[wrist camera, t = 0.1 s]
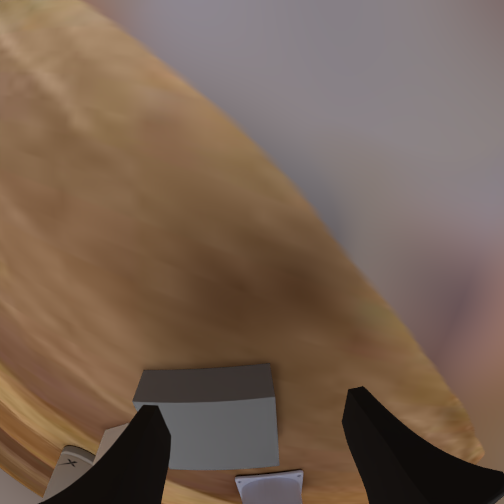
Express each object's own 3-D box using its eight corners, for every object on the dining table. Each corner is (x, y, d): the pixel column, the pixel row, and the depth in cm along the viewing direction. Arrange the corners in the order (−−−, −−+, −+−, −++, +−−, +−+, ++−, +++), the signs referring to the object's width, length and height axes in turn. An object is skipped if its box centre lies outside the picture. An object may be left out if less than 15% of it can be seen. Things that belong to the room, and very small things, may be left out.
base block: (274, 433, 25) (279, 465, 21) (175, 438, 24) (170, 468, 21) (269, 360, 21) (274, 396, 18) (144, 367, 21) (132, 401, 17)
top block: (131, 449, 25) (122, 484, 20) (105, 429, 24) (92, 464, 19) (155, 443, 24) (148, 481, 20) (128, 422, 23) (116, 461, 18)
